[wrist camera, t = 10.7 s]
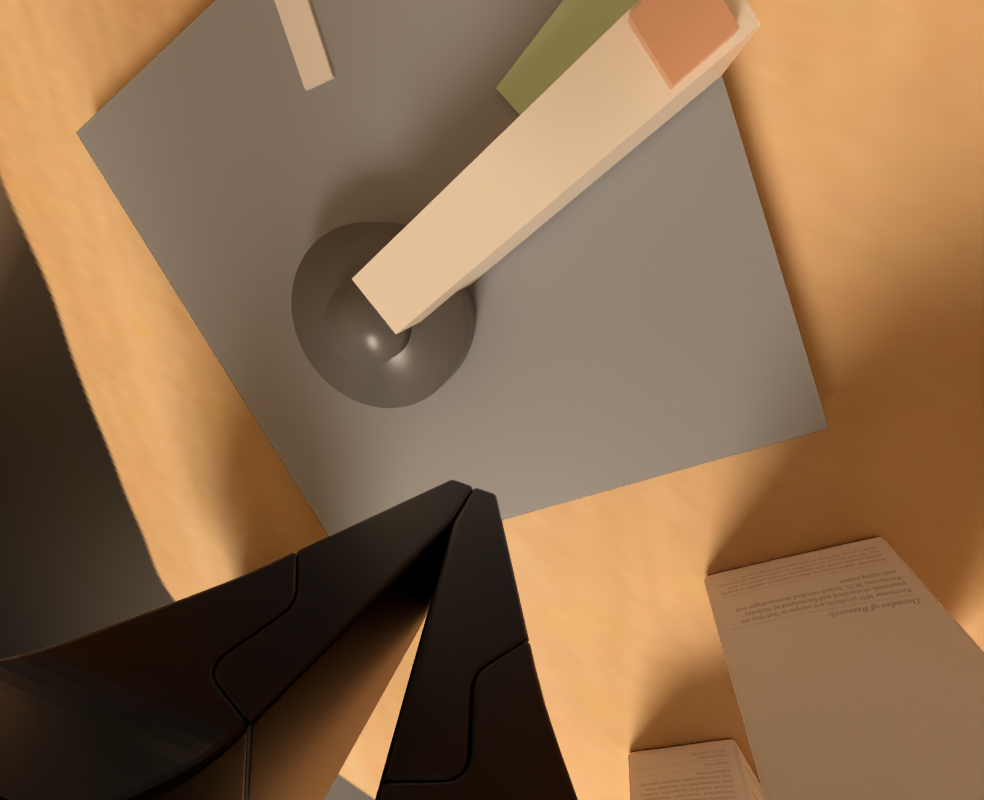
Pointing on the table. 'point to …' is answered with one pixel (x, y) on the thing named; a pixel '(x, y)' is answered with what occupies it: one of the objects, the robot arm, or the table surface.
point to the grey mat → (496, 294)
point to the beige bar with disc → (499, 204)
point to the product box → (693, 773)
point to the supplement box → (851, 678)
